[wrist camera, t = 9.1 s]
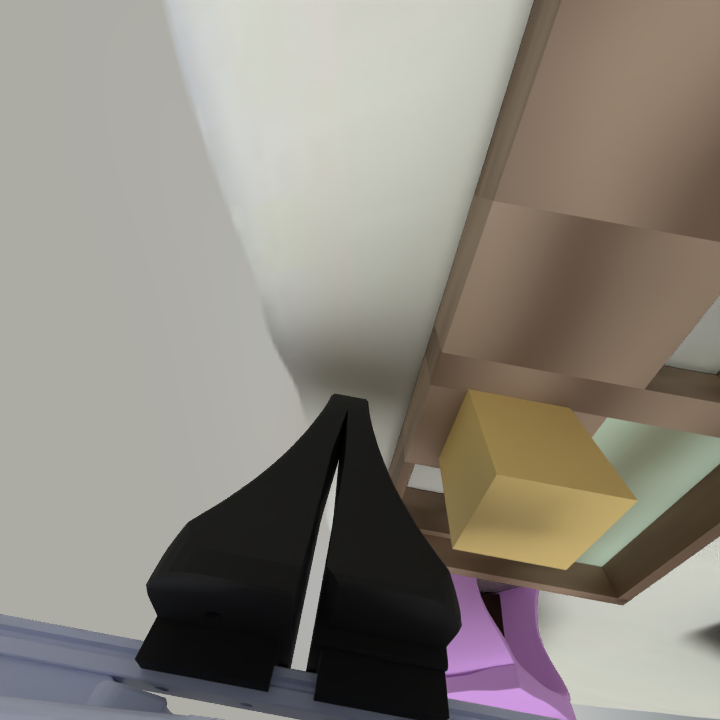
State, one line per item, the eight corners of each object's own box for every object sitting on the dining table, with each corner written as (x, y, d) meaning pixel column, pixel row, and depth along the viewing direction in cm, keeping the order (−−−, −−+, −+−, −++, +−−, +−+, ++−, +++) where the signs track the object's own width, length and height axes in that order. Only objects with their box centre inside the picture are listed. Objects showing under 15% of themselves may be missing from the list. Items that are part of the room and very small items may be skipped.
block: (569, 407, 12) (638, 500, 9) (525, 474, 14) (565, 569, 11) (468, 389, 12) (496, 474, 9) (438, 458, 14) (452, 549, 11)
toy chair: (490, 522, 20) (650, 1115, 8) (551, 581, 23) (742, 1080, 10) (390, 557, 24) (384, 1007, 11) (455, 605, 27) (510, 1004, 14)
